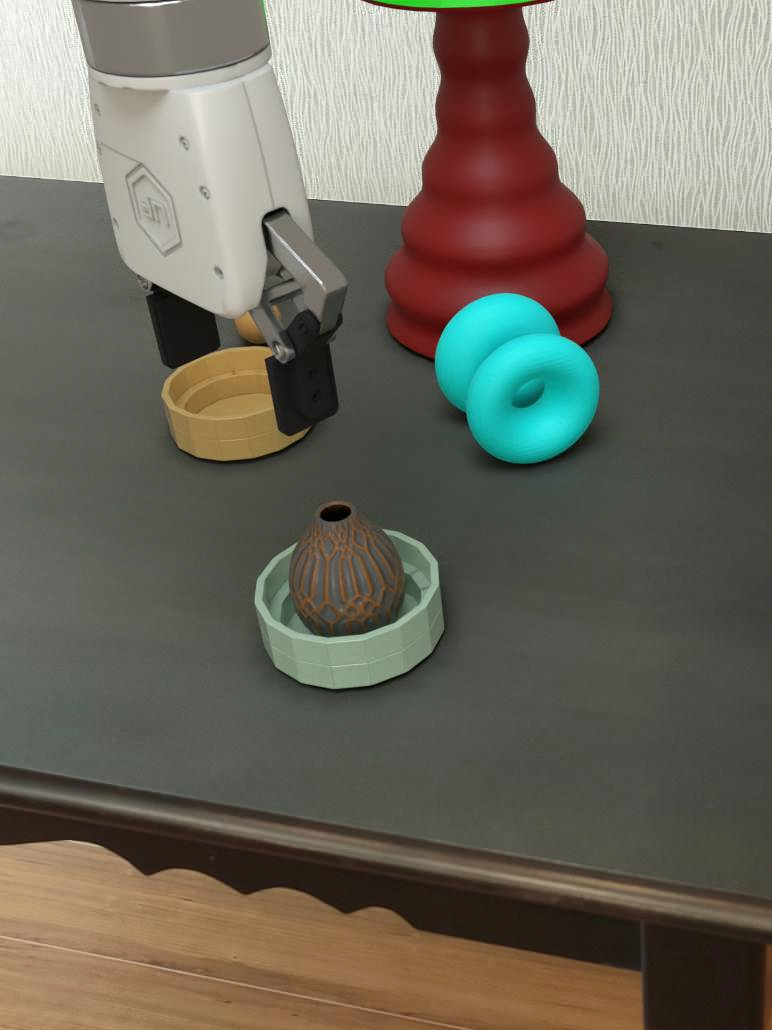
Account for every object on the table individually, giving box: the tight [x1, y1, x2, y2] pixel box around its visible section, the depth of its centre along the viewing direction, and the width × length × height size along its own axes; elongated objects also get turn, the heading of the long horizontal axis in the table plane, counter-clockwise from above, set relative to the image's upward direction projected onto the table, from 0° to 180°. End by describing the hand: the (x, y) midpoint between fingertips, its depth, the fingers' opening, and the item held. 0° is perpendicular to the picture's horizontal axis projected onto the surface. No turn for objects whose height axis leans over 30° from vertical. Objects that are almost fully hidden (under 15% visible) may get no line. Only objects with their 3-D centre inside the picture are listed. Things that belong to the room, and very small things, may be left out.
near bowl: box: [253, 528, 445, 690], centre depth 78 cm, size 11×11×4 cm
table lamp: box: [360, 0, 613, 361], centre depth 100 cm, size 20×20×45 cm
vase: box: [288, 500, 405, 638], centre depth 77 cm, size 7×7×9 cm
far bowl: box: [160, 345, 313, 462], centre depth 99 cm, size 11×11×4 cm
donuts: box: [434, 293, 600, 465], centre depth 94 cm, size 10×10×10 cm
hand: (248, 389), depth 63 cm, fingers open, 9 cm apart
